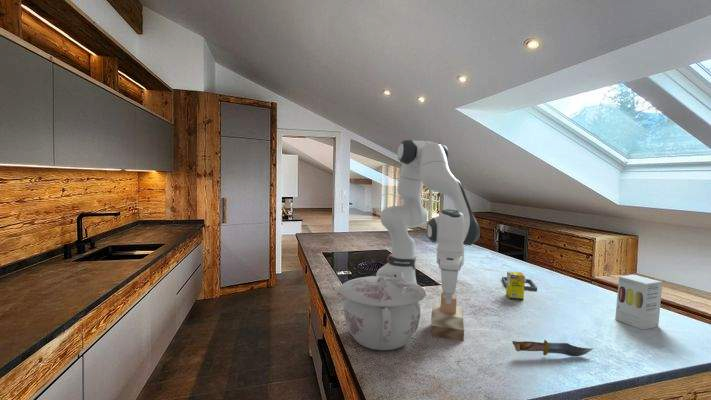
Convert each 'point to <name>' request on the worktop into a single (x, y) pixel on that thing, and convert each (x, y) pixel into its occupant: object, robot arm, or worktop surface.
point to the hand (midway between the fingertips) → (448, 298)
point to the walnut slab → (448, 333)
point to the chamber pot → (382, 310)
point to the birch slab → (447, 317)
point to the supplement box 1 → (515, 285)
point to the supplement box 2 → (638, 301)
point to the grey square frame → (524, 286)
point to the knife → (551, 348)
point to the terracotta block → (448, 307)
